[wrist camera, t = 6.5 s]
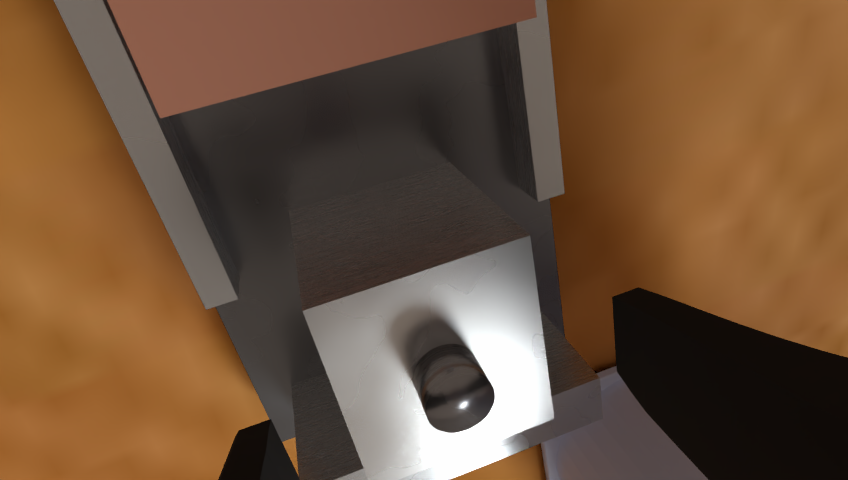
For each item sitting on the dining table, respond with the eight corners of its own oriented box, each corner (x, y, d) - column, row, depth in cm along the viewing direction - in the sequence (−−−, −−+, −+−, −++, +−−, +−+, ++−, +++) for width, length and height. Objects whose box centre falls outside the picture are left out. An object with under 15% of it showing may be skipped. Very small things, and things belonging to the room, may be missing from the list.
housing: (478, 308, 17) (576, 450, 12) (341, 356, 16) (381, 528, 11) (449, 162, 15) (555, 258, 9) (288, 210, 14) (306, 343, 9)
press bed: (544, 315, 20) (635, 418, 15) (279, 409, 18) (286, 558, 14) (473, -237, 12) (609, -378, 8) (18, -151, 11) (-169, -260, 6)
